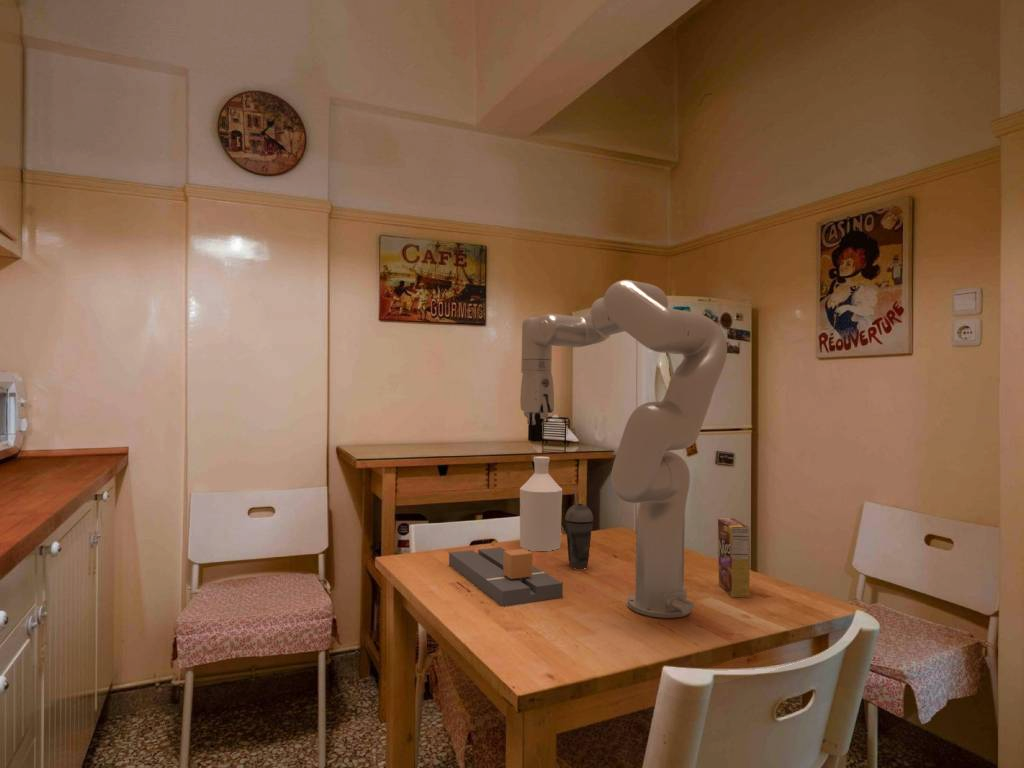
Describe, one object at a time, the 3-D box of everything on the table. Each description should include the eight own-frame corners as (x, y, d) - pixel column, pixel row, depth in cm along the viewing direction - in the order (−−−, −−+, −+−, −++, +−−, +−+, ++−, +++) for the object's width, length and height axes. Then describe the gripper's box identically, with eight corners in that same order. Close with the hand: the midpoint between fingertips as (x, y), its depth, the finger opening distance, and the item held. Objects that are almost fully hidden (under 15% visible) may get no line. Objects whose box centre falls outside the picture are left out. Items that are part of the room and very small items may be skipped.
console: (562, 597, 129) (562, 582, 129) (502, 606, 123) (502, 590, 123) (500, 558, 158) (500, 546, 158) (448, 564, 152) (449, 552, 152)
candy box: (716, 584, 139) (717, 517, 140) (735, 585, 139) (736, 517, 140) (730, 597, 130) (730, 526, 131) (750, 598, 130) (751, 526, 131)
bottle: (557, 553, 164) (559, 460, 164) (514, 550, 167) (516, 458, 167) (564, 543, 176) (565, 456, 176) (524, 540, 178) (525, 454, 179)
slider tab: (531, 583, 132) (532, 553, 132) (510, 586, 130) (511, 555, 130) (523, 578, 136) (524, 548, 136) (503, 581, 133) (503, 550, 134)
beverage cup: (594, 571, 148) (596, 488, 148) (564, 571, 148) (565, 488, 148) (591, 563, 155) (592, 484, 155) (562, 562, 155) (564, 483, 156)
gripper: (564, 367, 147) (563, 443, 147) (535, 368, 161) (534, 438, 161) (537, 366, 144) (535, 443, 144) (510, 367, 158) (508, 439, 157)
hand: (535, 440), depth 152 cm, fingers closed
